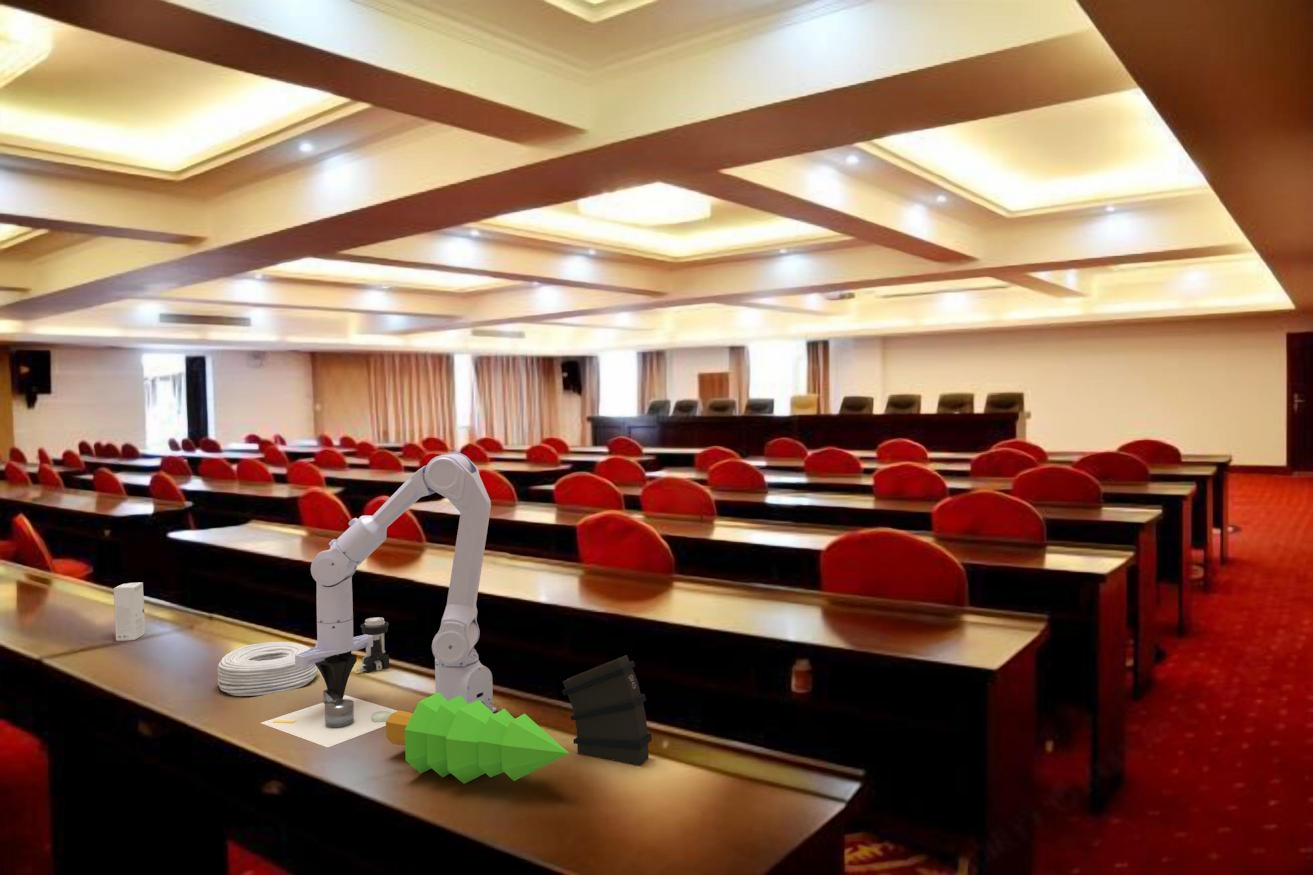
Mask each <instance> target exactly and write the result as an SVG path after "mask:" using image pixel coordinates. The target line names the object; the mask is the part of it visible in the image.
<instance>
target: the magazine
mask: <svg viewBox="0 0 1313 875" xmlns="http://www.w3.org/2000/svg"><path fill="white" fill-rule="evenodd" d="M634 667H636V663H635V661H634V660H632V661H630V659H629V657H628V655H626V654H625V655H623V656H620V657H618V658H616V659H615V658H614V659H613V660H611V661H607V662H606V663H603V664H600V665H597V666H595V667H593V668H590V669H589V670H586V671H583V672H581V673H578V674H576V675H572V676H571V677H568V678H567V679H566V680H563V681H562V684H563V687H564V689H563V690H561V692H562V694H563V696H564V697H565V696H567V697H568V699H569V702H570V705H571V708H572V712H573V714H572V715H571V716H570V721H575V727H576V729H575V730H576V737H575V738H573V744H574V745H577V747H576V748H577V750H576V751H577V753H578V754H580V755H581V754H582V755H587V756H592V757H596V758H600V759H606V760H612V761H616V762H619V763H620V762H621V763H626V764H630V765H635V766H641V765H643V763H645V762H646V761H647V760H648V759H649V757H650V756H649V755H650V753H649V744H650V743H651V742H652V741H653V739H652V736H653V735H652V733H649V732H648V724H647V716H646V710H645V706H644V702H646V701H647V697H646V694H645V693H641V690H640V686H639V681H638V679H637V676H636V674H635V670H634V669H633V668H634Z"/></svg>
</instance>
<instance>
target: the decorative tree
mask: <svg viewBox="0 0 1313 875" xmlns="http://www.w3.org/2000/svg"><path fill="white" fill-rule="evenodd" d="M385 730H386V731H385V734H386V736H385V737H386V738H387V740H388V741H389V742H390V743H391V744H392V745H397V746H398V745H400V746H405V748H404V752H405V761H406V762H407V763H408V764H409V765H410V766H411V767H413V768H414V769H415V770H416V771H417V772H418V773H420V774H423V773H425V772H427V771H429V770H433V771H434V772H435V773H437V774H438V775H439V776H440V777H441V778H445V777H446V776H448V775H450V774H451V775H452V776H454V777H455V778H456V779H457V780H458V781H459V782H461V783H462V784H464V785H466V784H467V783H469V782H471V781H473V780H476V779H477V778H479V777H480V776H482V775H484V774H486V775H487V776H488V777H489V778H493V777H495V776H497V775H500V774H503V773H505V775H507V776H508V777H509V778H510V779H511V780H512V781H513V782H515V781H517V780H519V779H521V778H523V777H525V776H527V775H529V774H531V773H533V772H535V771H537V770H539V769H541V768H543V767H545V766H547V765H549V764H551V763H553V762H555V761H558V760H559V759H561V758H563V757H565V756H567V755H569V754H570V753H569V751H568V750H567V749H565V748H564V747H563V746H562V745H561V744H559V743H558V741H556V740H555V739H554V738H553V737H552V736H550V734H548V733H547V732H546V731H545V730H544V729H543V728H542V727H541V726H539V725H538V723H536V722H535V721H534V720H533V719H532V718H530V716H528V715H527V714H526V713H523V714H521V715H520V716H518V717H514V716H512V715H511V713H510V712H509V711H507V709H506V708H503V709H501V710H500V711H498V712H492V711H491V710H489V709H488V708H487V707H486V706H485V705H484V704H483V703H482V702H481V701H480V700H477V701H475V702H473V703H470V704H468V703H467V702H466V701H465V700H464V699H463V698H462V697H461V696H458V697H455V698H453V699H451V700H449V701H447V700H446V699H445V698H444V697H443V696H442V695H441V694H440V693H435V694H433V695H430V696H428V697H426V698H423V699H422V700H419V701H418V703H417V705H416V707H415V709H414V711H413V712H409V711H404V710H401V709H400V710H397V712H394V713H392V714H391V715H390V717H389V718H388V719H387V721H386V726H385Z"/></svg>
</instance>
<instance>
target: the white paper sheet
mask: <svg viewBox="0 0 1313 875" xmlns="http://www.w3.org/2000/svg"><path fill="white" fill-rule="evenodd" d="M343 699H349V700H352V701H353V702H354V722H353V723H351V724H349V725H346V726H342V727H328V726H326V725H325V704H324V703H323V702H319V703H316V704H314V705H311V706H308V707H305V708H302V709H299V710H296V711H292V712H289V713H285V714H284V715H280V716H278V717H275V718H271V719H269V720H265V721H263V722H262V721H261V722H260V724H262V725H264V726H267V727H270V728H272V729H274V730H275V729H276V730H277V731H281V732H283V733H285V734H289V735H292V736H295V737H298V738H300V739H304V740H306V741H308V742H311V743H314V744H317V745H319V746H322V747H325V748H331V747H333V746H336V745H338V744H341V743H344V742H346V741H350V740H351V739H355V738H357V737H360V736H362V735H365V734H367V733H370V732H373V731H376V730H378V729H380V728H381V729H382V728H383V727H386V721H387V719H388V718H389V717H390V715H391V714H392V713H394V712H397V711H398V710H396V709H393V708H390V707H387V706H385V705H380V704H376V703H373V702H370V701H367V700H363V699H360V698H357V697H353V696H350V695H345V694H344V696H343Z"/></svg>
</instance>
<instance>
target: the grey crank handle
mask: <svg viewBox="0 0 1313 875" xmlns="http://www.w3.org/2000/svg"><path fill="white" fill-rule="evenodd" d="M322 694H323V695H322V696H323V697H322V698H323V700H322V701H323V702H322V703H324V704H325V725H326V726H328V727H342V726H346V725H349V724H351V723H353V722H354V702H353V701H352V700H349V699H340V697H339V696H338V695H337V694H336V693H335V692H334V691H333V689H327V688H326V689H324V690H323V691H322Z"/></svg>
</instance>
